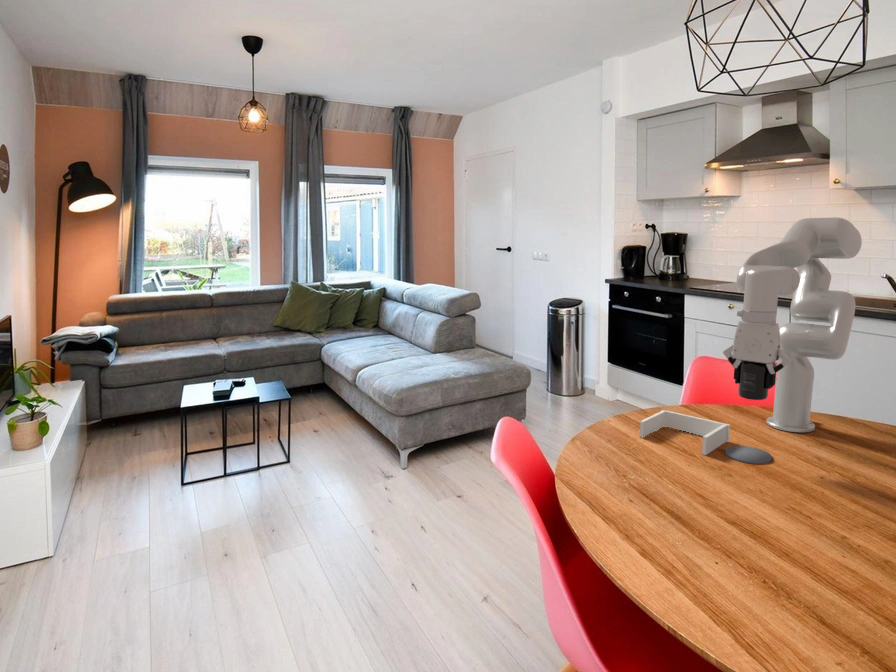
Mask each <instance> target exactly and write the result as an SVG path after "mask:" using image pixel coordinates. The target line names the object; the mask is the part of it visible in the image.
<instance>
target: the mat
mask: <svg viewBox="0 0 896 672" xmlns="http://www.w3.org/2000/svg"><path fill="white" fill-rule="evenodd" d="M724 454H725V455H726V457H728V458H729V459H731V460H734V461H738V462H740V463H745V464H750V465H751V464H752V465H765V464H768V463H770V462H772V460H773V459H772V458H773V457H772V455H771V453H769V452H768V451H765V450H763V449H761V448H757V447H752V446H746V445H733V446H728V447H726V448H725V449H724Z"/></svg>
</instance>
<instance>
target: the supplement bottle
mask: <svg viewBox="0 0 896 672" xmlns="http://www.w3.org/2000/svg"><path fill="white" fill-rule="evenodd" d="M768 373H769V370H768V368H767V365H766V364H763V363H756V362H749V361H743V362H742V363H741V365H740V376H739V383H738V393H737V394H738V396H739V397H740V398H743V399H746V400H754V401H763V400H766V399H767V398H768V396H769V389H766V378H767V374H768Z"/></svg>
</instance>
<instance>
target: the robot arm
mask: <svg viewBox="0 0 896 672" xmlns="http://www.w3.org/2000/svg"><path fill="white" fill-rule="evenodd" d="M862 243H863V242H862V236H861V233H860V231H859V230H858V229H857V228H856V226H855V225H854V224H853V223H852V222H850V220H847V219H845V218H843V217H836V216H835V217H807V218H801V219H799V220H797V221H795V222H794V223H793V224H792V225H791V227H790V228H789V229H788V231H787V232H786V234H785V235H784V236H783V238H782V239H781V240H780V241H779V243H778V242H777V243H775V244H773V245H770V246H767V247H766V248H763V249H761V250H759V251H756V252H754V253H753V254H751V255H750V256H749V257H747V259H746V260H745V262H744V263H743V264H742V265H741V267H740V269H739V270H738V273H737V275H736V285H737V288H738V289H739V291H741V292H742V293H743V308H742V310H738V311H737V313H736V316H737V317H740V319H741V320H740V321H738V322H737V325H736V328H735V329H736V330H735V334H734V339H733V344H732V345H731V346H729V347H727V348H726V349H725V350H723V352H722V354H723V355H724V356H725V357H726V359H727V361H728V362H729V363H730V365H732V368H733V369H734V370H733V379H734V383H735V384H736V385H739V376H740V365H741V363H742V362H743V361H749V362H756V363H763V364H766V365H767V368H768V370H769V373H768V374H767V378H766V389H768V390H770V389H771V388H773V387H774V386H775V389H774V400H773V410H772V411H773V412H772V416H768V417H767V418H766V424H767V425H768V426H769V427H771V428H774V429H777V430H779V431H780V430H781V431H784V432H792V433H811V432H813V431H815V429H816V425H815V424H814V423H813V422H812V421H810V417H811V408H812V399H813V390H814V381H815V368H814V366H813V365H812V363H811V361H810V360H809V359H808V358H816V359H822V360H823V359H825V360H839V359H840V358H842V357H843V356H844V355H845V353H846V351H847V348H848V343H849V340H850V335H851V331H852V326H853V322H854V317H855V313H856V300H855V297H854V295H853V294H851V293H850V292H848V291H844V290H831V289H830V286H831V281H832V274H831V272H830V270H829V269H828V267H827V266H826V265H825V264H823V262H822V261H821V260H820V259H837V260H838V259H839V260H840V259H843V260H847V259H853V258H855V257H856V256H857V255H858V254H859V252H860V251H861V248H862ZM795 268H796V269H795ZM829 289H830V290H829ZM791 294H792V299H791V302H790V308H789V309H790V311H789V313H790V315H791V317H793V319H795V320H798V321H805V322H810V323H803V322H789V323H785V324H782V325H779V323H777V313H778V300H779V296H782V297H785V296H789V295H790V296H791ZM811 322H812V323H811ZM813 322H814V323H823V324H824V325H823V324H814V323H813ZM825 324H830V325H825ZM776 362H777V363H776Z"/></svg>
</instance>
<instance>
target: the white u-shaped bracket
mask: <svg viewBox="0 0 896 672" xmlns="http://www.w3.org/2000/svg"><path fill="white" fill-rule="evenodd" d="M663 426H668V427H671V428H675V429H679V430H682V431H681V432H683V431H686V432H685V433H687V432H689V433H688V434H691V433H693V434H692V435H695V434H696V435H695V436H699V435H700V436H699V437H702V446H701V447H702V448H701V455H703V456H707V455H708V454H710V453H711V452H714V450H715V449H717V448H719V447H720V446H722V445H724V444H725V443H727V442H728V443H729V442H730V432H731V424H729V423H724V422H721V421H716V420H710V419H706V418H701V417H697V416H693V415H688V414H684V413H679V412H675V411H671V410H665V409H660V411H659V412H656V413H655V414H652V415H651V416H648V417H646V418H644V419H641V420H640V422H639V437H640V436H641V437H644V436H646V435H648V434H650V433H652V432H654V431H655V430H657V429H659V428H661V427H663ZM671 428H670V429H671ZM675 429H674V430H675ZM679 430H678V431H679ZM654 433H655V432H654ZM652 434H653V433H652ZM650 435H651V434H650ZM648 436H649V435H648ZM646 437H647V436H646ZM644 438H645V437H644Z"/></svg>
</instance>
